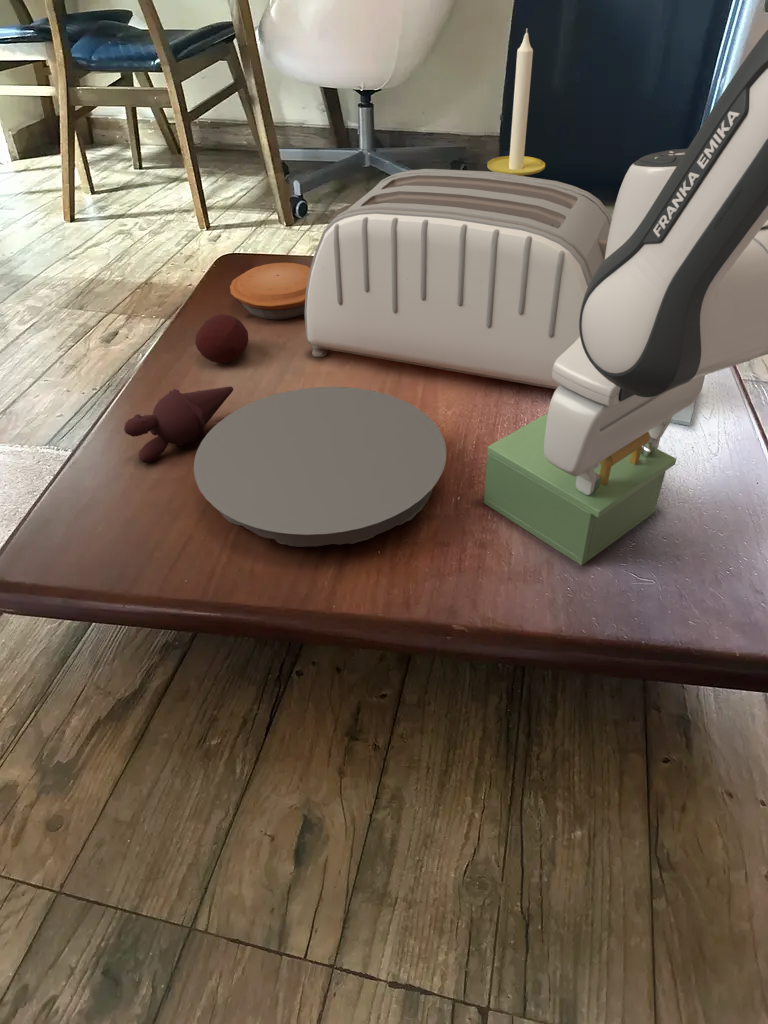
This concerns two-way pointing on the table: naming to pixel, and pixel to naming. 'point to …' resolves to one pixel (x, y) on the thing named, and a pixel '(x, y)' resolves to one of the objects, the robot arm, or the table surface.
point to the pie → (273, 290)
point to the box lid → (617, 471)
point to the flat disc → (321, 465)
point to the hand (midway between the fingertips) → (617, 469)
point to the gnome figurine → (176, 419)
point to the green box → (564, 511)
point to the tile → (683, 415)
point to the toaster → (458, 273)
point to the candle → (519, 121)
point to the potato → (222, 338)
